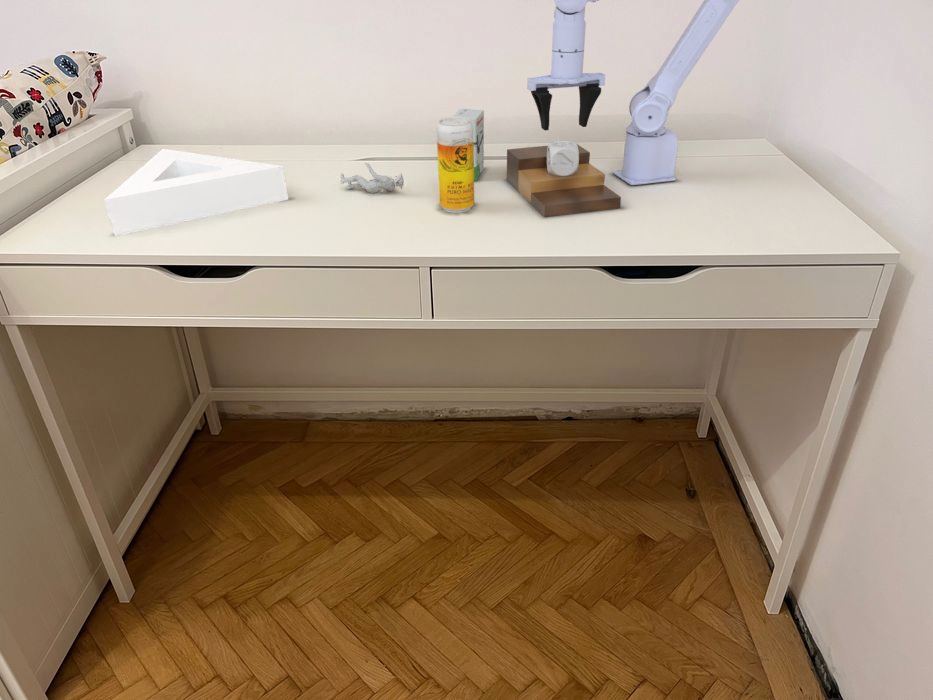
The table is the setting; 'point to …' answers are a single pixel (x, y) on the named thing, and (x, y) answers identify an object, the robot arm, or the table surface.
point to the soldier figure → (373, 182)
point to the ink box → (476, 136)
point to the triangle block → (191, 190)
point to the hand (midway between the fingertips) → (563, 127)
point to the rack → (558, 183)
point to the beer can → (455, 164)
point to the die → (562, 158)
